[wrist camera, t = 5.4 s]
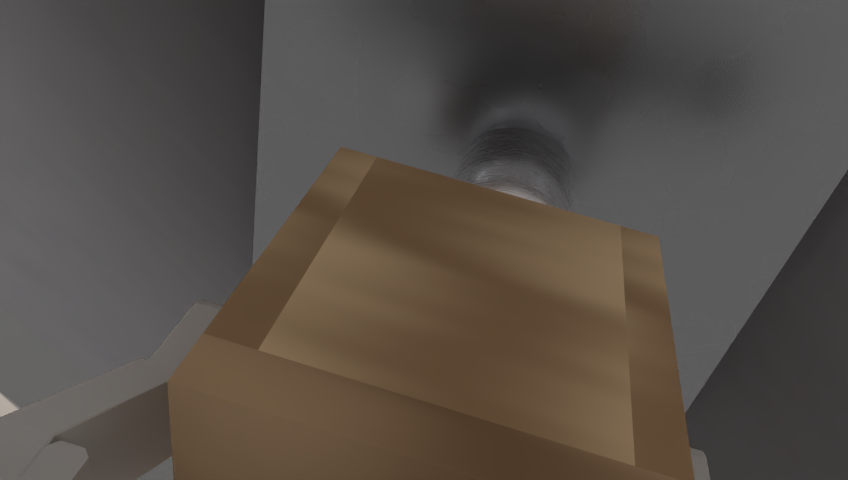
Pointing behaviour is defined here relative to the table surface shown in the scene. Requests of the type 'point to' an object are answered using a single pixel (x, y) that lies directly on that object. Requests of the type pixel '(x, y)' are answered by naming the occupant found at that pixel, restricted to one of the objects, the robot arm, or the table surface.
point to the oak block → (435, 344)
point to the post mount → (581, 123)
